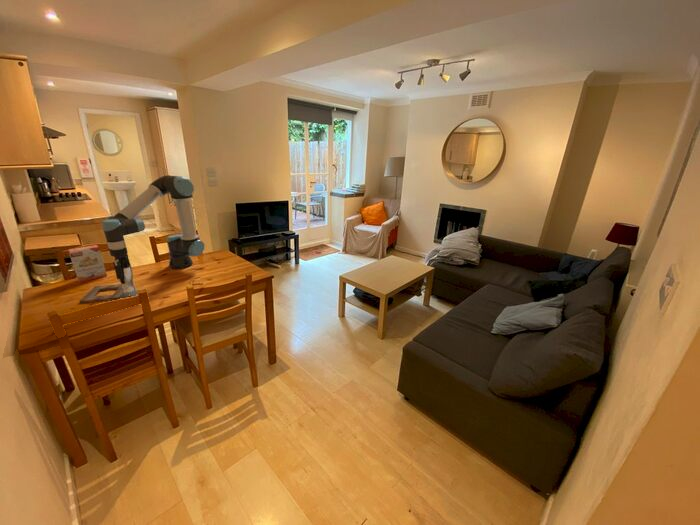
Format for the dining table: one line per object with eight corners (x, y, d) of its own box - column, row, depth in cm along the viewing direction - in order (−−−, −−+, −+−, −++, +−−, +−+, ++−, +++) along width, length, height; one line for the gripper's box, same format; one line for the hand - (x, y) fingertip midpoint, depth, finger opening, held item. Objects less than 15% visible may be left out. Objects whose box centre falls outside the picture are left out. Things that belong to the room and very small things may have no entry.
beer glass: (134, 286, 170) (128, 263, 164) (138, 290, 166) (132, 267, 160) (120, 290, 165) (113, 267, 159) (124, 294, 161) (117, 270, 155)
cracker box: (79, 282, 179) (68, 251, 171) (77, 279, 182) (67, 249, 174) (107, 276, 189) (98, 246, 181) (105, 273, 192) (96, 244, 184)
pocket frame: (130, 285, 179) (129, 283, 178) (118, 299, 163) (118, 297, 162) (95, 288, 173) (94, 286, 173) (80, 303, 157) (79, 300, 157)
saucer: (146, 290, 174) (146, 289, 174) (139, 299, 164) (139, 298, 163) (122, 292, 170) (122, 291, 170) (114, 302, 160) (114, 301, 160)
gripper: (116, 242, 163) (126, 278, 172) (101, 254, 146) (113, 293, 155) (132, 242, 165) (141, 277, 174) (118, 253, 148) (129, 292, 157)
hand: (127, 285), depth 164 cm, fingers closed on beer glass, 7 cm apart
